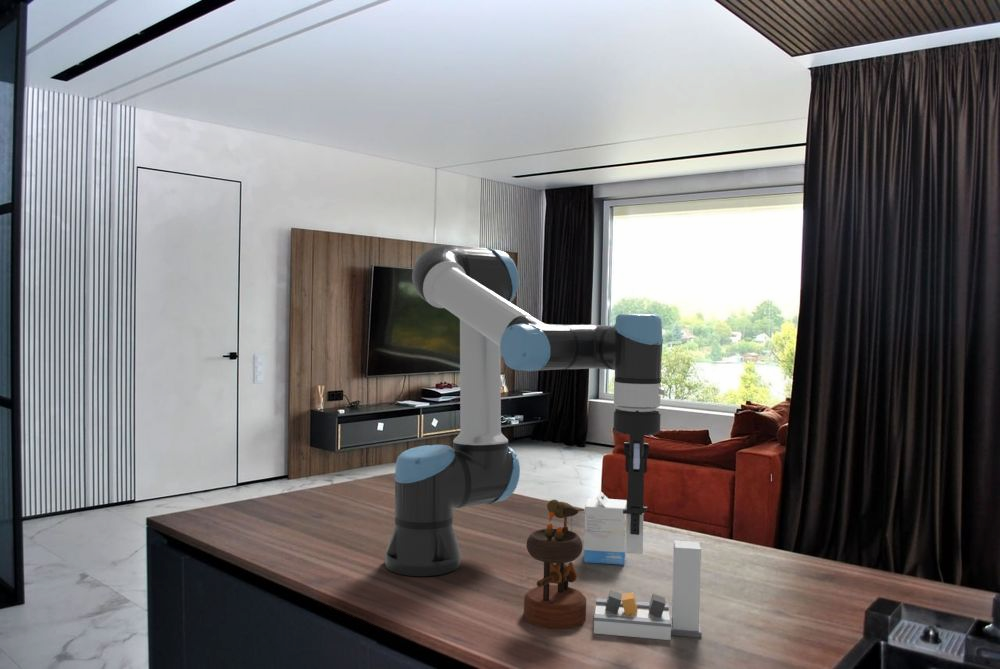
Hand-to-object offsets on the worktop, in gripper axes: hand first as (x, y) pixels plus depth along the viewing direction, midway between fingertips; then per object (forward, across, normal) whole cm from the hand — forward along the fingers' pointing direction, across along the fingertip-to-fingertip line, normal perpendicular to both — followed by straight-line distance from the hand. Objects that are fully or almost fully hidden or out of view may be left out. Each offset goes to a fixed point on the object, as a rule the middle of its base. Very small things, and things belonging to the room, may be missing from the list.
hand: (634, 552), depth 126 cm
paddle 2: (+10, 0, 0) cm, 10 cm away
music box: (+12, +1, +13) cm, 18 cm away
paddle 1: (+10, 0, +4) cm, 11 cm away
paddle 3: (+10, 0, -3) cm, 11 cm away
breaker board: (+12, 0, 0) cm, 12 cm away
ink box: (+12, +35, +6) cm, 38 cm away
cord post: (+12, 0, -8) cm, 15 cm away
